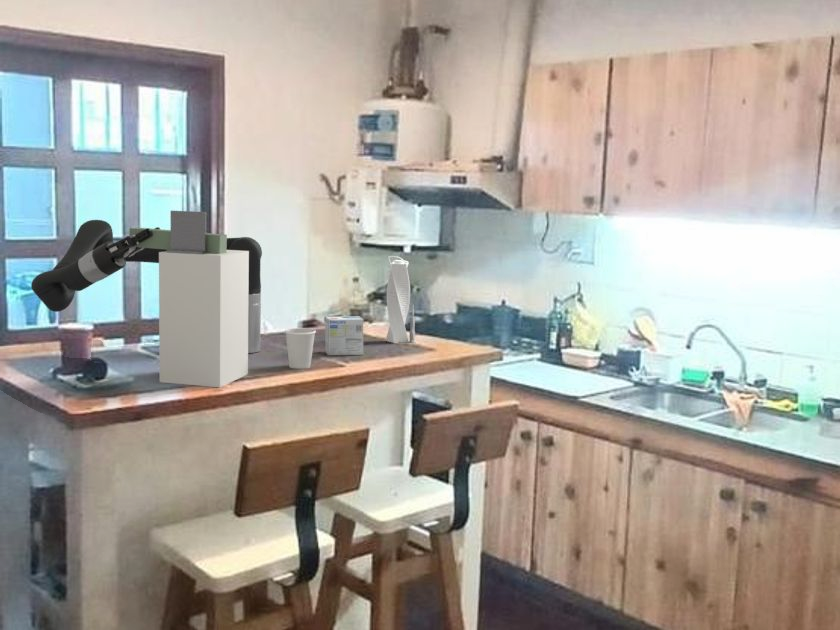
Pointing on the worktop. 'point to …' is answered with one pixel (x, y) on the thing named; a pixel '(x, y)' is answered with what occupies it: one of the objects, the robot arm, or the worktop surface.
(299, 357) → the dixie cup
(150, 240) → the green bar
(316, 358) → the worktop surface
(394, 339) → the skyscraper
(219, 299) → the tall white pillar
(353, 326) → the light bulb box
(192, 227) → the bookend
